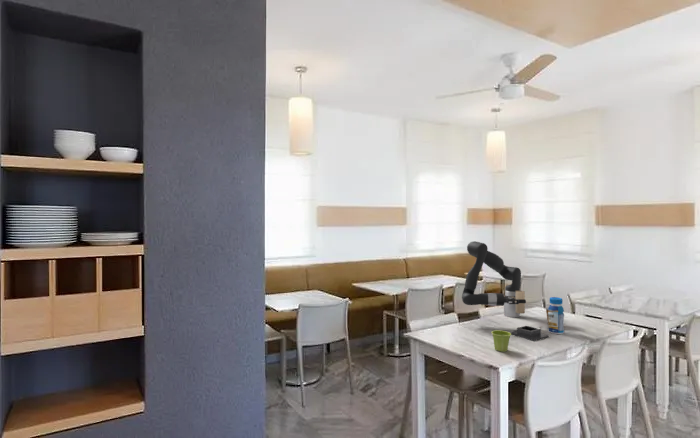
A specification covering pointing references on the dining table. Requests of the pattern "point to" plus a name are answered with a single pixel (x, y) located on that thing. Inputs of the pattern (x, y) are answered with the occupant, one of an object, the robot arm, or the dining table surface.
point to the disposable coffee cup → (547, 310)
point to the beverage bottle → (556, 316)
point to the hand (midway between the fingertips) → (524, 300)
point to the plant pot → (501, 340)
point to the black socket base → (529, 333)
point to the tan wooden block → (521, 306)
